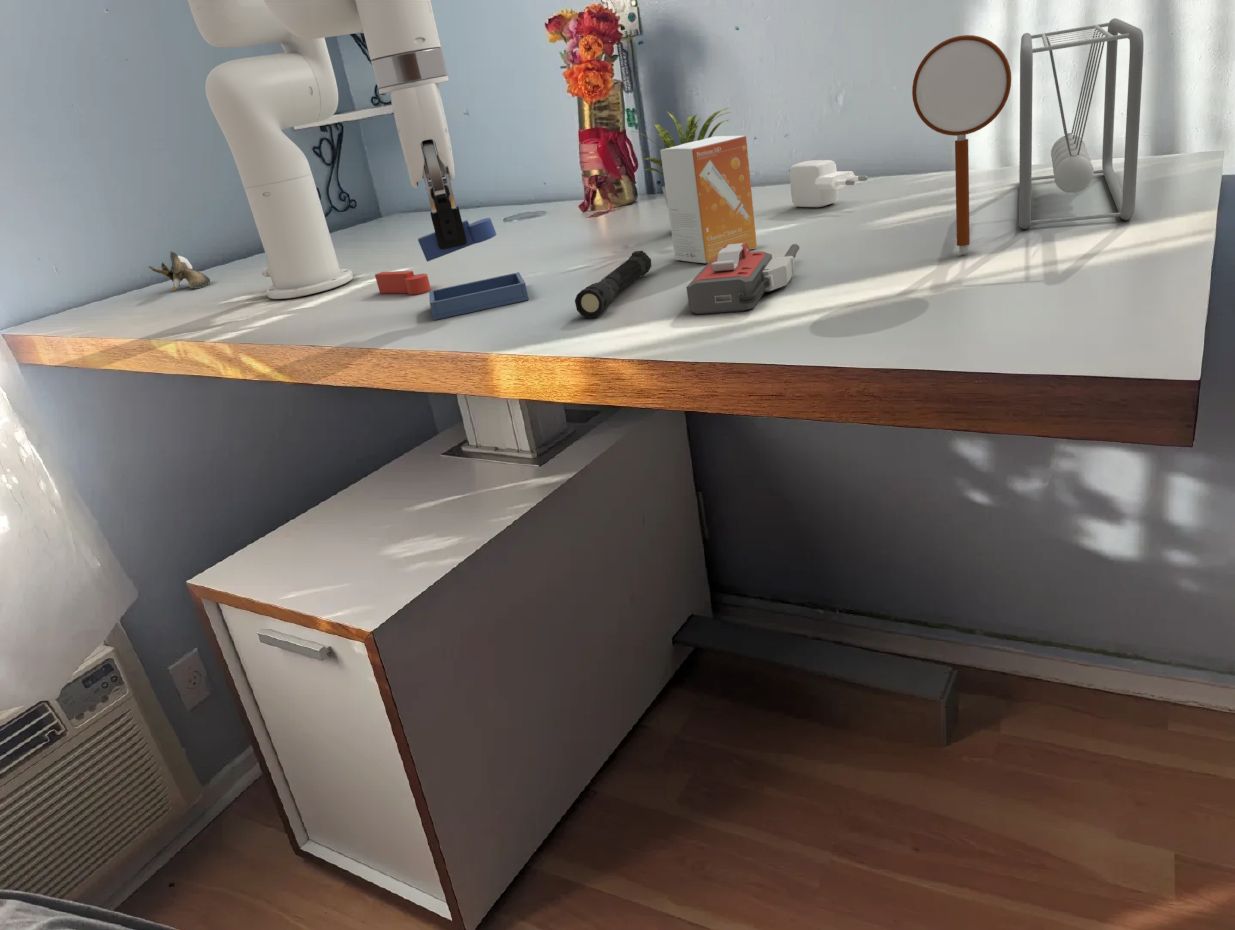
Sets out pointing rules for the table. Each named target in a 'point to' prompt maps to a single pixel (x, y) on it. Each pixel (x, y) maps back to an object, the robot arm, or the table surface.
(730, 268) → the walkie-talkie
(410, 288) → the red block with cylinder
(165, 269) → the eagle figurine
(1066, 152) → the newton's cradle
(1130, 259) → the table surface
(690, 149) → the small box
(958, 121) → the magnifying glass
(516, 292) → the blue tray
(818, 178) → the power adapter
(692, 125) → the house plant
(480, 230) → the blue block with cylinder
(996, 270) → the table surface
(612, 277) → the flashlight
